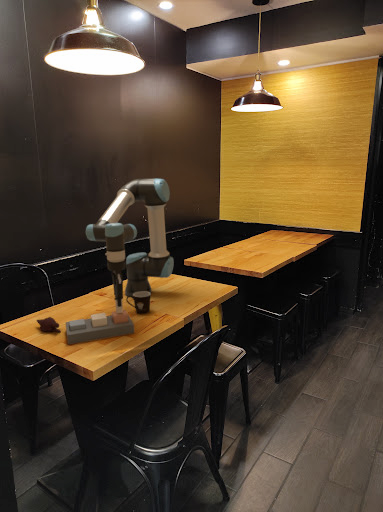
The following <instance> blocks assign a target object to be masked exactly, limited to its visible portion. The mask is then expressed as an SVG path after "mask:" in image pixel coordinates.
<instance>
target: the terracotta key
mask: <svg viewBox="0 0 383 512" xmlns="http://www.w3.org/2000/svg"><path fill="white" fill-rule="evenodd" d="M111 315H112V321H113V323H114V324H117V323H123V322H128V315H129V314H128V312H127V311H126V309H123V313H118V314H117V313H116V310H115V311H111Z"/></svg>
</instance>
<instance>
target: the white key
mask: <svg viewBox="0 0 383 512" xmlns="http://www.w3.org/2000/svg"><path fill="white" fill-rule="evenodd" d="M106 316H107V315H106V312H102V313H101V312H100V313H94V314H90V318H91V324H92V327H98V326H104V325H107V317H106Z"/></svg>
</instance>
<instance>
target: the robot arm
mask: <svg viewBox="0 0 383 512" xmlns="http://www.w3.org/2000/svg"><path fill="white" fill-rule="evenodd" d="M170 191H171V190H170V187H169V185H168V183H167V181H166V180H165V179H163V178H136V179H132V180H130V181H128V182H127V183H126V184H124V185H123V186H121V188H120V189H119V190H118V191H117V193H116V197H115V199H113V201H112V202H111V204H110V205H109V206H108V207H107V209H106V210H105V211H104V213H103V214H102V215H101V217H100V218H99V219H98V221H97V222H96V223H92V224H91V223H90V224H88V225H86V227H85V235H86V239H87V240H89V241H93V242H105V247H106V249H105V250H106V253H104V254H105V256H106V259H107V262H106V263H107V264H106V265H107V266H106V267H107V270H109V271H110V272H111V277H112V285H113V286H112V288H113V294H114V298H113V299H114V301H115V311H116V313H117V314H118V313H123V310H124V307H123V299H124V295H125V296H127V297H128V296H132V297H133V294H134V293H136V292H141V291H146V292H150V293H151V294H152V292H153V291H152V290H153V289H152V287H151V284H150V281H149V278H160V279H163V278H166V279H167V278H170V276H171V275H172V273H173V269H174V265H175V264H174V263H175V262H174V257H173V256H170V252H169V251H168V249H167V240H166V236H167V235H166V225H165V224H166V221H165V207H166V205H167V203H168V201H169V200H170V194H171V192H170ZM135 202H144V203H143V205H144V207H145V208H146V209H147V218H148V220H147V221H148V231H149V244H150V252H149V253H146V252H136V253H132V254H129V255H128V256H127V257H126V249H125V244H126V243H128V242H129V243H130V242H131V241H133V240H134V239H136V238H137V234H138V230H137V228H136V226H135V225H134V224H131V223H126V224H123V223H121V222H119V221H120V220H121V218H122V216H123V215H124V214H125V213H126V211H127V210H128V208H129V206H132V205H134V204H135ZM125 259H126V260H125ZM125 269H126V276H127V277H126V278H127V281H126V286H125V288H124V286H123V285H124V279H123V276H124V275H123V273H122V271H124V270H125ZM123 288H124V289H123Z"/></svg>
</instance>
